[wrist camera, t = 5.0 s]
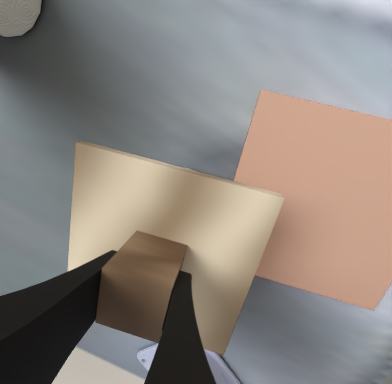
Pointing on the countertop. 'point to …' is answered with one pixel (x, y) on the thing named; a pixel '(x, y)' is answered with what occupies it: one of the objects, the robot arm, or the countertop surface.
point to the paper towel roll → (18, 16)
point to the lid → (167, 240)
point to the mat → (324, 196)
